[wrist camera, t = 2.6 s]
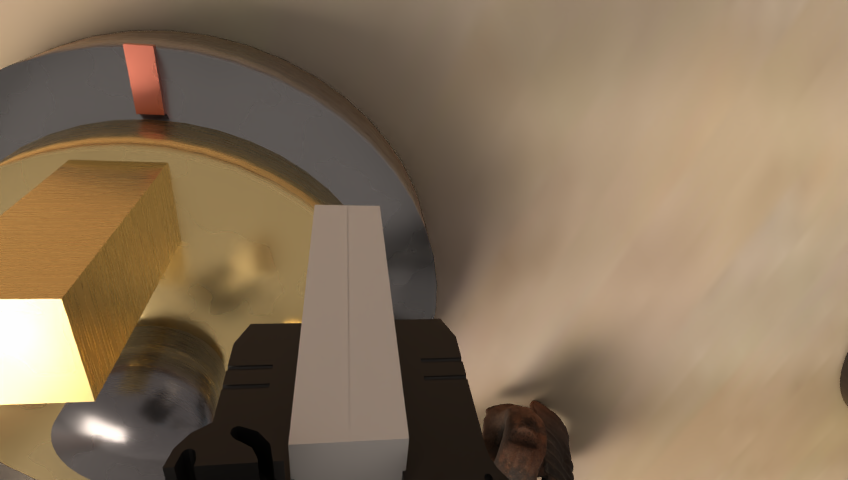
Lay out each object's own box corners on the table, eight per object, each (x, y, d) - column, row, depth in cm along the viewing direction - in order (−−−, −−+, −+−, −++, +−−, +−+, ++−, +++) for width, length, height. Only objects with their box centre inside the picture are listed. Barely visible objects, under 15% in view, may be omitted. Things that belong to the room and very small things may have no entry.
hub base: (448, 45, 19) (517, 123, 11) (411, 413, 28) (434, 592, 21) (-160, 5, 16) (-627, 73, 8) (24, 429, 26) (-115, 643, 18)
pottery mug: (563, 474, 34) (538, 620, 28) (427, 424, 36) (379, 550, 31) (619, 379, 25) (598, 561, 20) (435, 321, 28) (371, 470, 22)
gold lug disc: (379, 442, 24) (392, 663, 17) (23, 459, 22) (-140, 723, 15) (397, 129, 17) (436, 283, 9) (-138, 107, 15) (-631, 286, 7)
